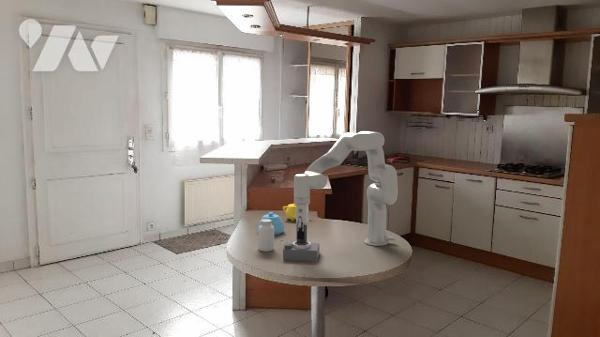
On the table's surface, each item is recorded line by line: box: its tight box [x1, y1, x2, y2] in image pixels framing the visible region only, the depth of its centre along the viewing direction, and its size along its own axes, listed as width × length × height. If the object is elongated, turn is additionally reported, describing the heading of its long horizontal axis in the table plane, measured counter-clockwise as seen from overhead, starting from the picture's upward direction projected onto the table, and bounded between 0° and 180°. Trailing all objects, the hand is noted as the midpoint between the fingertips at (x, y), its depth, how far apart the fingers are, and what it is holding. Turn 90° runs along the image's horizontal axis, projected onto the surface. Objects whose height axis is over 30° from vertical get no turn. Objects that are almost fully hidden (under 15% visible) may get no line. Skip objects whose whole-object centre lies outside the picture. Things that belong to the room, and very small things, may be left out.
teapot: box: [282, 203, 310, 222], centre depth 294 cm, size 18×11×11 cm, turn 105°
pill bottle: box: [257, 219, 275, 252], centre depth 232 cm, size 8×8×15 cm
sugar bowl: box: [257, 211, 285, 236], centre depth 263 cm, size 15×15×12 cm
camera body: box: [282, 240, 321, 262], centre depth 222 cm, size 16×12×7 cm
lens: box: [295, 223, 308, 244], centre depth 221 cm, size 5×5×9 cm
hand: (301, 237), depth 221 cm, fingers closed on lens, 5 cm apart
